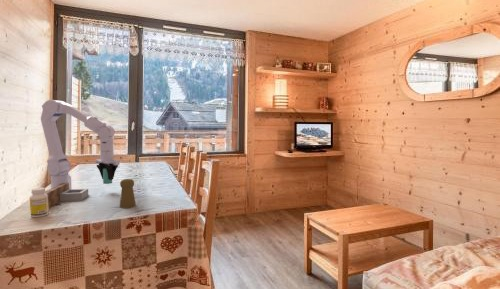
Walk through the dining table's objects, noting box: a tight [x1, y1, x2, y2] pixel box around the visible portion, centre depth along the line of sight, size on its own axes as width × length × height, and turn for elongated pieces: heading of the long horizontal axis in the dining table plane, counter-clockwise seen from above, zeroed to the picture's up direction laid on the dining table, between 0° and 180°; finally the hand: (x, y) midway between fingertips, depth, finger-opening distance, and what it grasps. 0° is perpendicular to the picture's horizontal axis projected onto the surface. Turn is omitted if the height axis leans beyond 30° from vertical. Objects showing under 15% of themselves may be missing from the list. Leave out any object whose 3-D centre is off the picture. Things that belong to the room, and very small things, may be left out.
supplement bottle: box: [29, 187, 50, 218], centre depth 106 cm, size 5×5×10 cm
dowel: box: [102, 168, 113, 185], centre depth 141 cm, size 4×4×7 cm
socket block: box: [59, 188, 89, 202], centre depth 130 cm, size 9×9×4 cm
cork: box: [119, 178, 137, 209], centre depth 118 cm, size 6×6×11 cm
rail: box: [45, 183, 69, 209], centre depth 124 cm, size 22×2×6 cm, turn 12°
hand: (107, 179), depth 141 cm, fingers closed on dowel, 4 cm apart
